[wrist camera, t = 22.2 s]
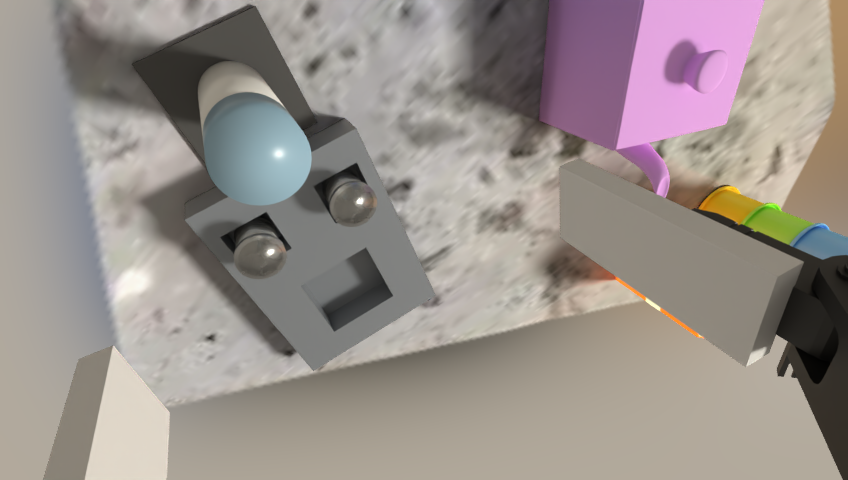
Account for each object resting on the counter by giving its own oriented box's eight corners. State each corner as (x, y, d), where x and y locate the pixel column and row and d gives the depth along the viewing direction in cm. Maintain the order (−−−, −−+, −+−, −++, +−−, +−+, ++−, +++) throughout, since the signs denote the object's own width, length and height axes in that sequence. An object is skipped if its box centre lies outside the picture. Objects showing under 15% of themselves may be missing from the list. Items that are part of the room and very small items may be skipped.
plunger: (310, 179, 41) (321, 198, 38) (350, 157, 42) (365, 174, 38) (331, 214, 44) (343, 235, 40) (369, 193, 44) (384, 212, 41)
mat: (132, 63, 33) (132, 64, 33) (255, 6, 35) (255, 6, 34) (214, 174, 39) (215, 176, 39) (316, 121, 41) (317, 122, 40)
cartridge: (199, 127, 37) (207, 206, 24) (195, 56, 34) (201, 104, 22) (269, 130, 39) (309, 204, 26) (269, 64, 37) (313, 111, 24)
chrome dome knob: (220, 229, 40) (223, 252, 36) (263, 205, 40) (270, 226, 37) (247, 262, 42) (252, 287, 39) (287, 239, 43) (295, 262, 39)
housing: (184, 203, 39) (184, 220, 36) (345, 118, 42) (356, 128, 39) (306, 350, 52) (313, 370, 50) (423, 279, 55) (435, 295, 52)
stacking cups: (681, 245, 75) (962, 398, 48) (703, 188, 70) (1030, 322, 43) (721, 236, 79) (1002, 372, 52) (745, 181, 74) (1068, 300, 47)
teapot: (532, 178, 55) (619, 228, 44) (555, -71, 42) (686, -88, 31) (627, 155, 60) (726, 195, 49) (673, -73, 47) (823, -89, 36)
